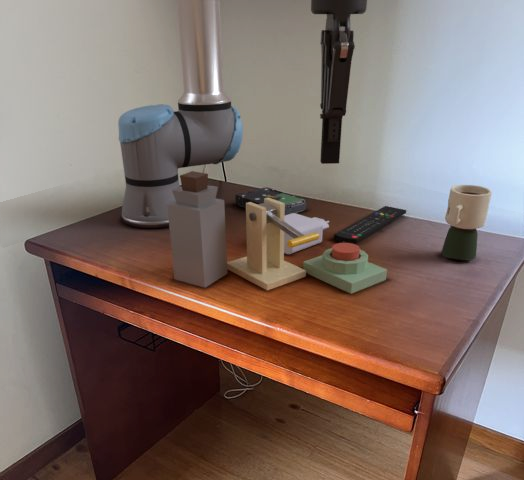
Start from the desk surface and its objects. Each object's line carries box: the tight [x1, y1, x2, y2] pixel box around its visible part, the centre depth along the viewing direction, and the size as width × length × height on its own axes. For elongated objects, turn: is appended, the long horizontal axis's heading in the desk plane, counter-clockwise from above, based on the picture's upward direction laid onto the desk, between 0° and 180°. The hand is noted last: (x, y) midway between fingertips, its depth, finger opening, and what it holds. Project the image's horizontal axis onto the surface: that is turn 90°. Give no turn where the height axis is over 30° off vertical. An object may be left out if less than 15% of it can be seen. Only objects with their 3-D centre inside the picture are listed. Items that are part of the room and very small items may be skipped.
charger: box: [284, 213, 330, 255], centre depth 112 cm, size 5×9×15 cm
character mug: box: [441, 184, 493, 261], centre depth 102 cm, size 11×7×13 cm, turn 140°
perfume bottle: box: [167, 170, 228, 289], centre depth 93 cm, size 7×7×18 cm
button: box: [331, 242, 361, 261], centre depth 96 cm, size 5×5×2 cm
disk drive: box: [234, 186, 307, 215], centre depth 131 cm, size 10×3×15 cm
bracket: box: [227, 198, 307, 291], centre depth 96 cm, size 12×9×13 cm
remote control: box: [333, 205, 407, 244], centre depth 119 cm, size 5×24×1 cm, turn 143°
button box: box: [302, 247, 388, 295], centre depth 97 cm, size 12×9×4 cm
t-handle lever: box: [258, 203, 319, 248], centre depth 91 cm, size 12×6×2 cm, turn 39°
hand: (329, 162), depth 85 cm, fingers closed
